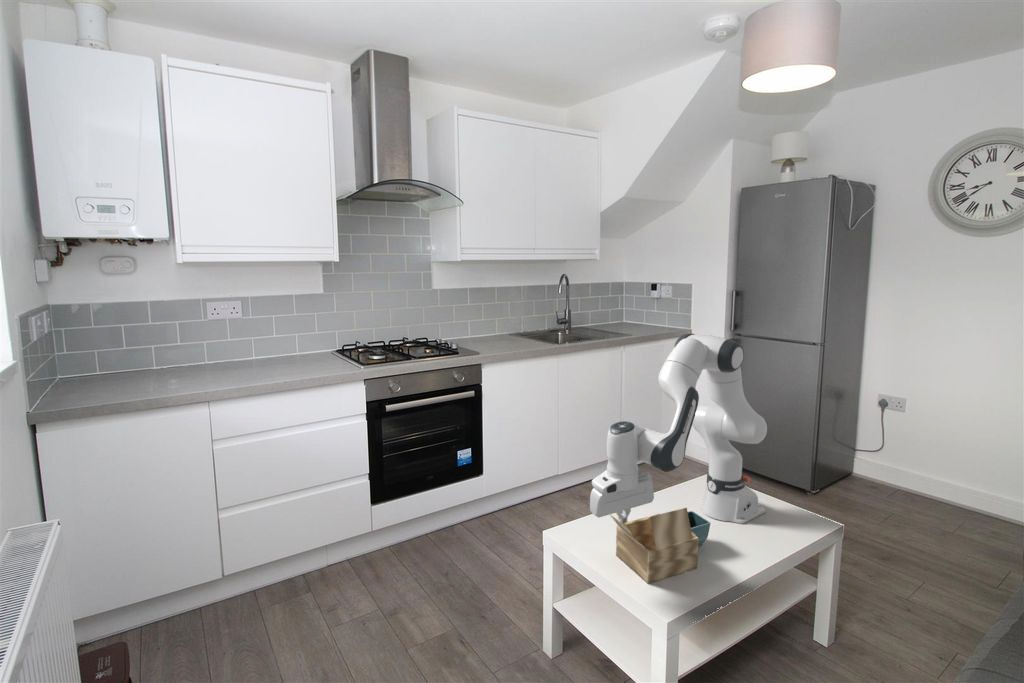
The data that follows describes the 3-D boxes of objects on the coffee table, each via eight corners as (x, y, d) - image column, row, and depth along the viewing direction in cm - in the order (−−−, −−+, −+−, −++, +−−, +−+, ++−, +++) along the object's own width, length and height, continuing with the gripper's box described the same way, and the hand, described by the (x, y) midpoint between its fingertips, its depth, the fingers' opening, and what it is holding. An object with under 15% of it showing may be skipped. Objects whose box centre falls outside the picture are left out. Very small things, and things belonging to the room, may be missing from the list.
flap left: (685, 507, 158) (686, 507, 158) (691, 538, 157) (692, 538, 157) (650, 516, 153) (651, 516, 153) (656, 549, 152) (657, 549, 152)
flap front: (609, 512, 159) (608, 513, 159) (625, 524, 151) (624, 525, 151) (624, 531, 162) (623, 532, 162) (640, 544, 155) (639, 545, 155)
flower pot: (688, 555, 167) (689, 528, 165) (669, 541, 175) (670, 516, 173) (710, 548, 170) (711, 522, 169) (690, 535, 178) (691, 510, 177)
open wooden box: (662, 540, 175) (663, 512, 173) (698, 567, 160) (700, 537, 158) (614, 554, 168) (615, 525, 166) (648, 584, 153) (649, 552, 151)
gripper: (645, 466, 160) (645, 509, 163) (586, 481, 152) (587, 525, 155) (658, 474, 154) (658, 518, 157) (598, 490, 146) (599, 536, 149)
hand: (622, 522), depth 156 cm, fingers closed
